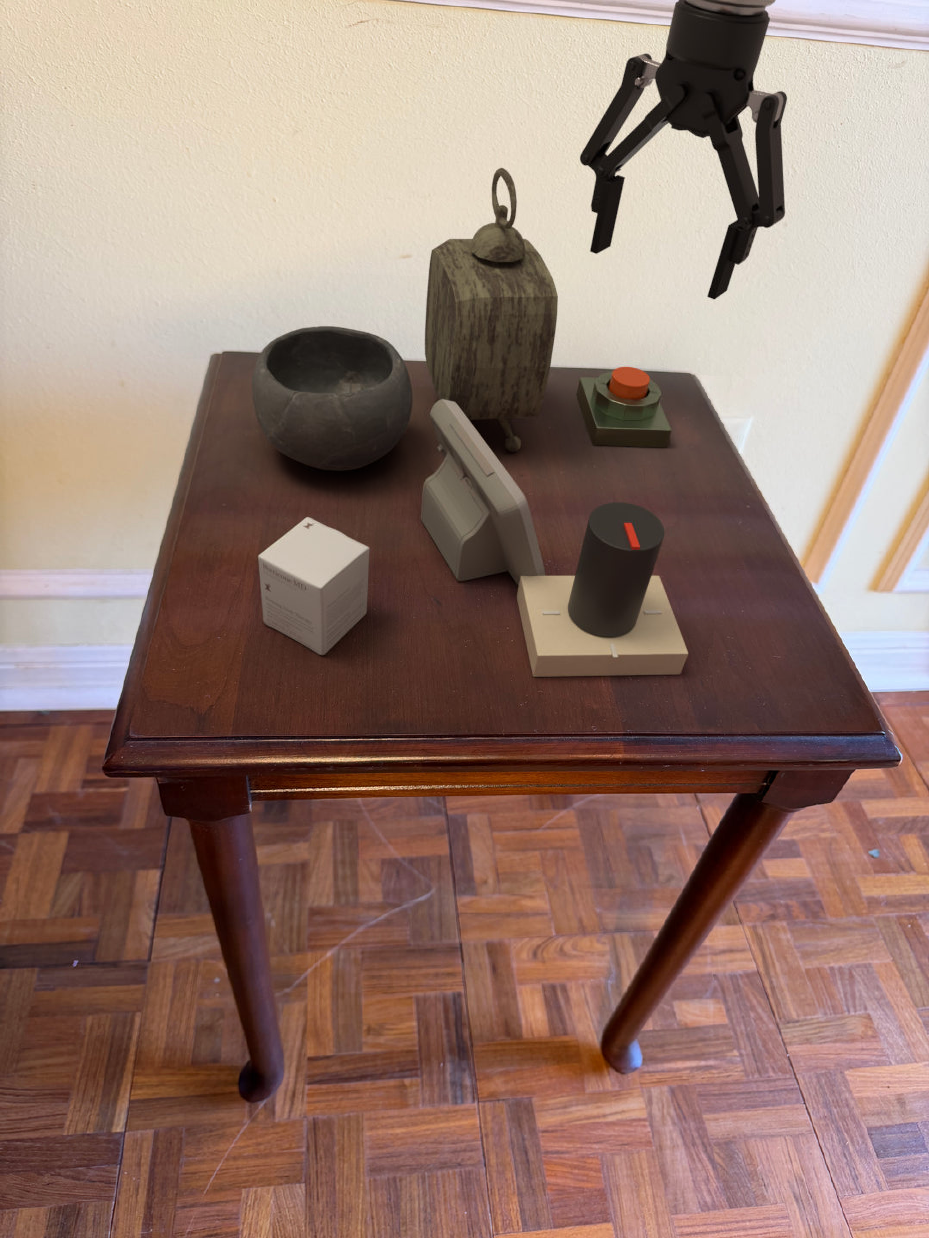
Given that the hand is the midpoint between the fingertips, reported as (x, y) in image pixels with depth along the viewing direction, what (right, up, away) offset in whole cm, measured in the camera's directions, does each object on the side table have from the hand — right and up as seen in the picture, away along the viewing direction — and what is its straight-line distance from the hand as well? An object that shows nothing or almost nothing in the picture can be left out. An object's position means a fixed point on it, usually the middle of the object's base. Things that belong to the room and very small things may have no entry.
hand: (656, 271), depth 85 cm
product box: (-30, -33, -14) cm, 47 cm away
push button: (-1, -9, +9) cm, 13 cm away
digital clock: (-17, -26, -5) cm, 32 cm away
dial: (-7, -33, -14) cm, 36 cm away
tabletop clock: (-17, -13, +9) cm, 23 cm away
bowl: (-31, -17, +3) cm, 36 cm away
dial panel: (-8, -35, -12) cm, 37 cm away
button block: (-1, -12, +12) cm, 17 cm away
